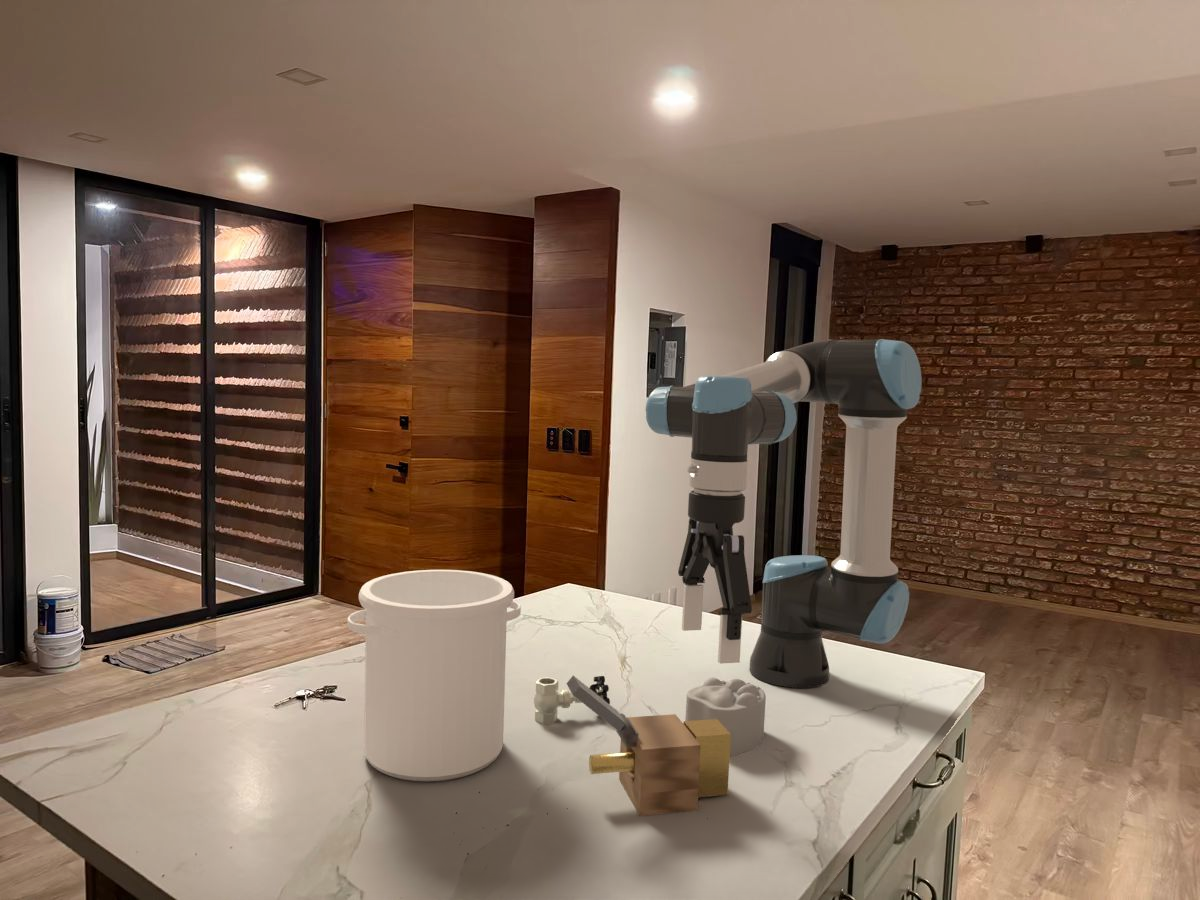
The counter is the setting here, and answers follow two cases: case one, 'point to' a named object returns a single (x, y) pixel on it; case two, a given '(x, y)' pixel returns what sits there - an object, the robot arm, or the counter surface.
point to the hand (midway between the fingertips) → (709, 645)
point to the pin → (711, 757)
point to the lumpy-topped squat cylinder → (730, 710)
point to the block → (660, 764)
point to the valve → (560, 698)
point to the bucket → (434, 671)
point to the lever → (595, 703)
